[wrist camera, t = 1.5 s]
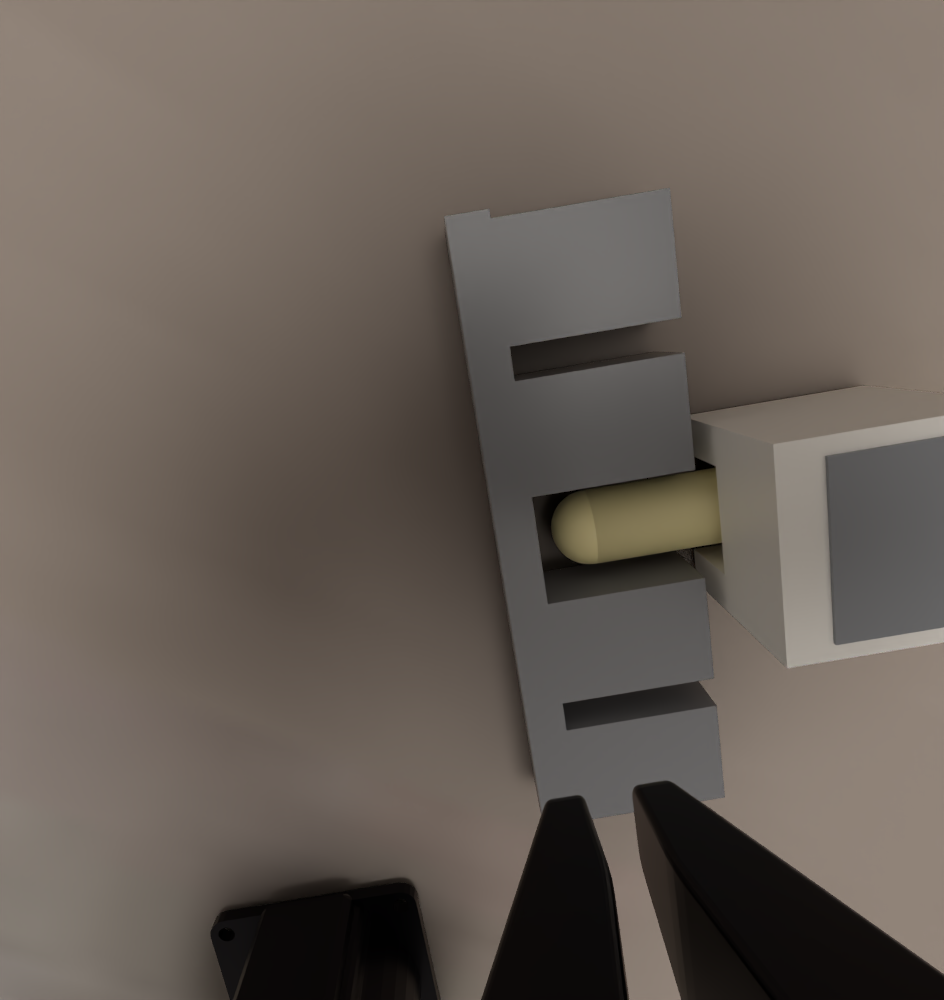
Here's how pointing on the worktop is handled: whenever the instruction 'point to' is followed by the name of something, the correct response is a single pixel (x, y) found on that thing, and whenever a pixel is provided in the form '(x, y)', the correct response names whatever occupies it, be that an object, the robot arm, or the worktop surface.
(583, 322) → the cord rig
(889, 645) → the grey block
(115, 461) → the worktop surface
